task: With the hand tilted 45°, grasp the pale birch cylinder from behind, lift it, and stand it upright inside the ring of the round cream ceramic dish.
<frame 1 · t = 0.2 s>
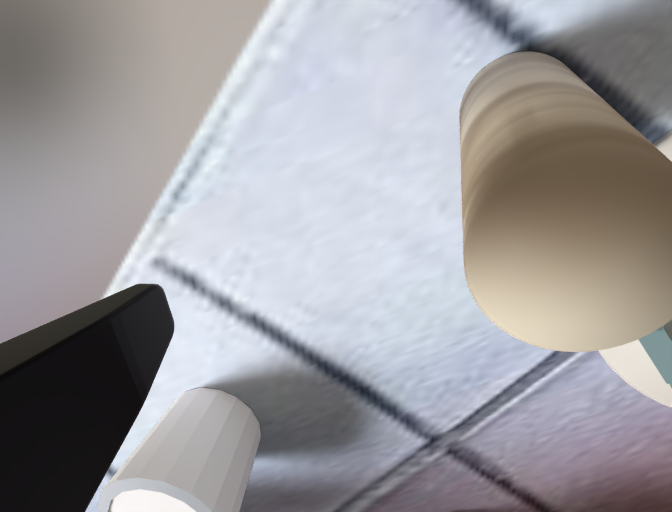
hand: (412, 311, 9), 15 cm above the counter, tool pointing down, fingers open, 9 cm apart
white cup: (217, 421, 33), on the counter
birch cylinder: (519, 113, 21), on the counter
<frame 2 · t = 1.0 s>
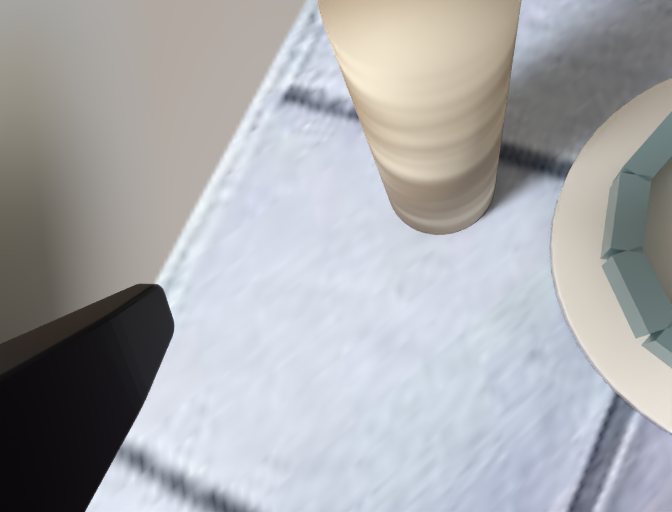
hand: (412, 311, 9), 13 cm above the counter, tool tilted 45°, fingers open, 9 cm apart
birch cylinder: (440, 184, 23), on the counter
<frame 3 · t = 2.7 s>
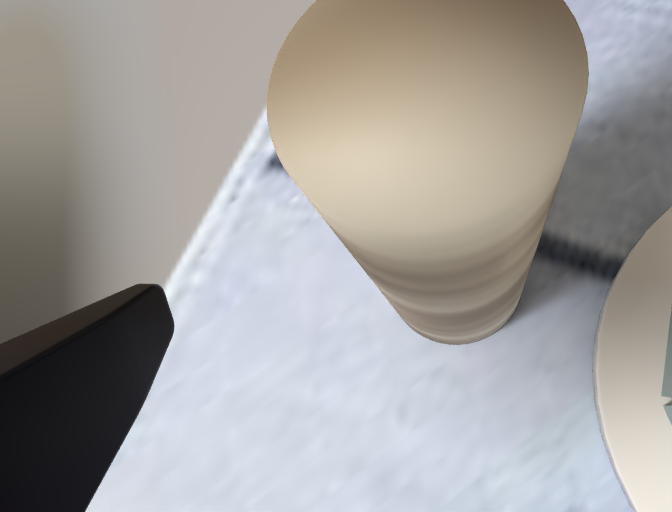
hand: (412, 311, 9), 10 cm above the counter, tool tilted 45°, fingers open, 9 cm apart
birch cylinder: (454, 279, 19), on the counter
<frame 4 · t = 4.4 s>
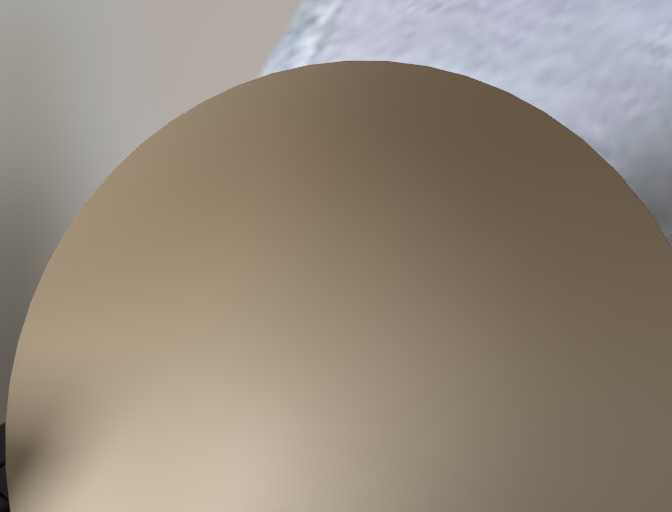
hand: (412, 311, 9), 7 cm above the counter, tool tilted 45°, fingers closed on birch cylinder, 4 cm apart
birch cylinder: (438, 407, 15), on the counter, touching gripper
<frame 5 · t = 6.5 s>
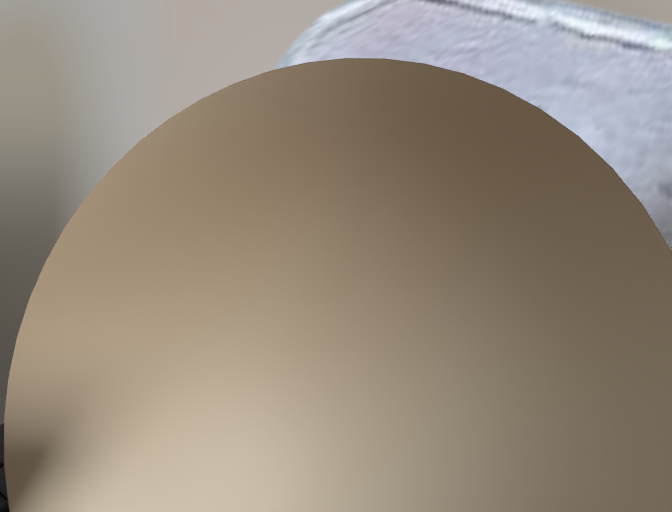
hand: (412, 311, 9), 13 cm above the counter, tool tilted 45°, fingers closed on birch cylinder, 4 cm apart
birch cylinder: (437, 406, 15), point 7 cm above the counter, touching gripper
when the fingers open (8 cm above the counter, at t = 8.7 s): birch cylinder stays where it is, resting on ring dish.
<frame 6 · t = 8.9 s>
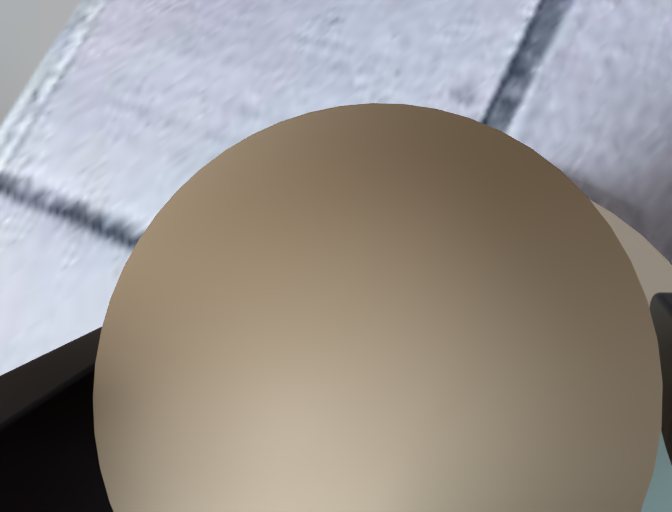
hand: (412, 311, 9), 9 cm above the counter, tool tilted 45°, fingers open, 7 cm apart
ring dish: (442, 406, 16), on the counter
birch cylinder: (439, 408, 15), point 1 cm above the counter, touching ring dish
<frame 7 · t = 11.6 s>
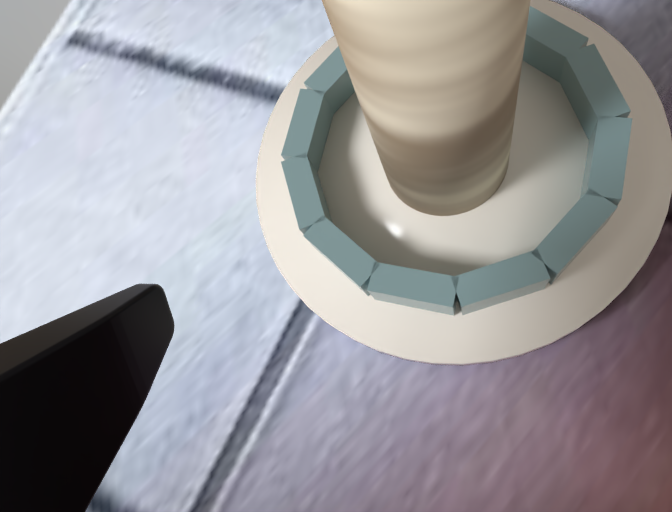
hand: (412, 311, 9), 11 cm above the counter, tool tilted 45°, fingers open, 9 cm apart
ring dish: (447, 168, 21), on the counter
birch cylinder: (445, 158, 20), point 1 cm above the counter, touching ring dish
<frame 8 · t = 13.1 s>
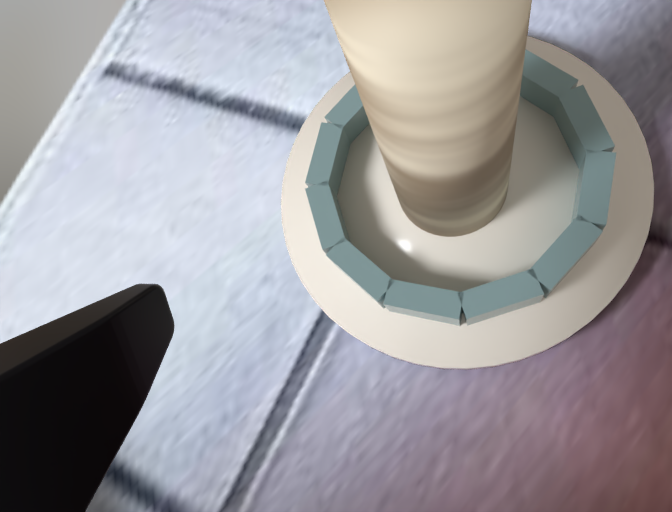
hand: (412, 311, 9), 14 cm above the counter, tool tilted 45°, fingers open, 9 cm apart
ring dish: (453, 193, 23), on the counter
birch cylinder: (451, 185, 22), point 1 cm above the counter, touching ring dish
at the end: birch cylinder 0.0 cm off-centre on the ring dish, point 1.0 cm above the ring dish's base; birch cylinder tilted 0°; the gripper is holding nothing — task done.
